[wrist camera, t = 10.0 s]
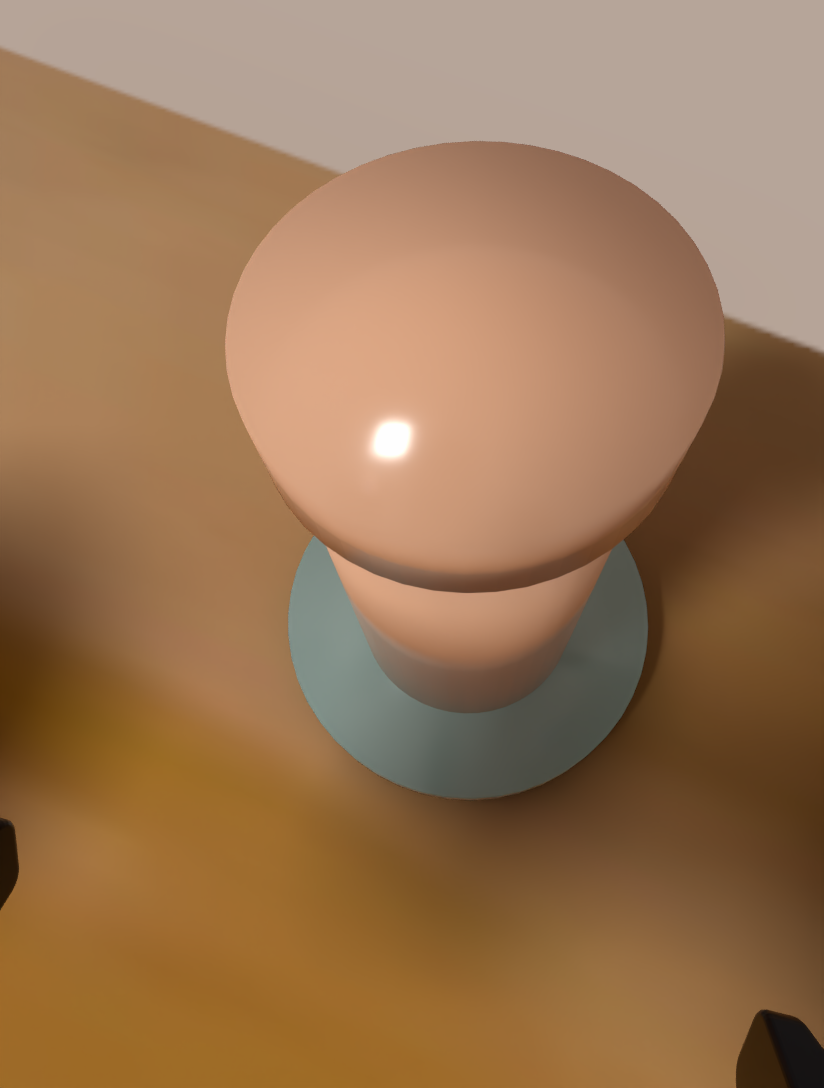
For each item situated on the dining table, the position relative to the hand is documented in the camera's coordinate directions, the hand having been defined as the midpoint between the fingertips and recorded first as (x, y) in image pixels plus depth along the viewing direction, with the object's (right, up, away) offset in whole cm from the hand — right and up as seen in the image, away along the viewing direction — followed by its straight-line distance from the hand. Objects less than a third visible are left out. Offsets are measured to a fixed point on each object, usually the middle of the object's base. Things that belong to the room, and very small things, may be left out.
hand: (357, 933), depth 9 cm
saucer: (+2, +3, +11) cm, 11 cm away
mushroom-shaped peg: (+2, +3, +10) cm, 11 cm away
